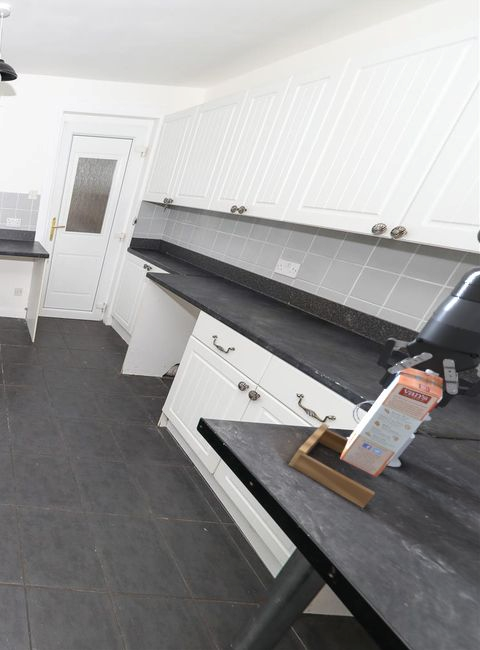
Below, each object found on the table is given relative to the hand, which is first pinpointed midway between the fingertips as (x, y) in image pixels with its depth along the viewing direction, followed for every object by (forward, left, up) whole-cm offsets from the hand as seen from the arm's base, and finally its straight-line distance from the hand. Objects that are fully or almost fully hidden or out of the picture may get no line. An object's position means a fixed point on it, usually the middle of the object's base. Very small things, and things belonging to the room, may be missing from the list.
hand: (408, 396), depth 68 cm
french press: (-11, -15, -23) cm, 29 cm away
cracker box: (0, 0, -17) cm, 17 cm away
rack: (+2, -1, -22) cm, 23 cm away
